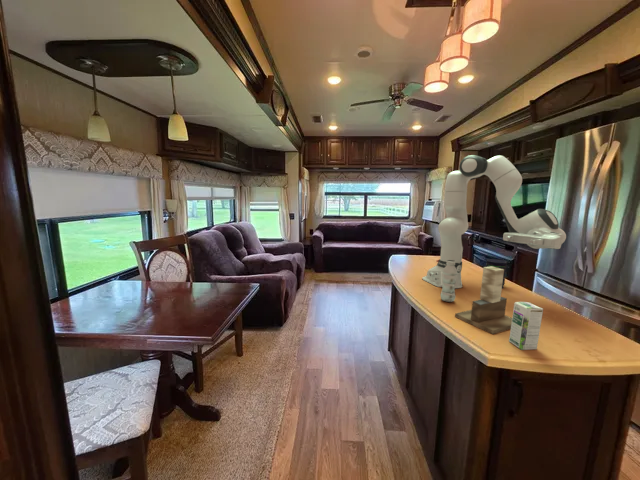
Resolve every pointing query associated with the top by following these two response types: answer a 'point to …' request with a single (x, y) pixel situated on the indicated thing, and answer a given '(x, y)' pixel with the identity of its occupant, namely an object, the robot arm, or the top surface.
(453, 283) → the plastic bottle
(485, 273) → the ash post
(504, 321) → the ridge
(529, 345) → the syrup box
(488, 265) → the storage jar
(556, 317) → the top surface
